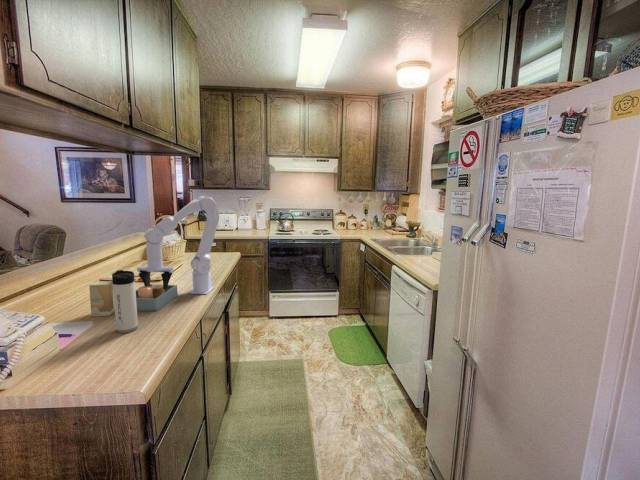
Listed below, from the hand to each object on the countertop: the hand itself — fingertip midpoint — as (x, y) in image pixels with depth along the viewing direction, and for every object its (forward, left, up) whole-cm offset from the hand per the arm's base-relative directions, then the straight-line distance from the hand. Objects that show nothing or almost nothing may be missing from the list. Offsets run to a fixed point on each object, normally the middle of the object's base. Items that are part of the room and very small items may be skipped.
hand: (156, 288), depth 130 cm
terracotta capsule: (+8, 0, -4) cm, 9 cm away
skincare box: (+17, -12, -5) cm, 21 cm away
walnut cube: (0, 0, -4) cm, 4 cm away
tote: (+4, 0, -5) cm, 6 cm away
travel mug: (+28, +4, -5) cm, 28 cm away
